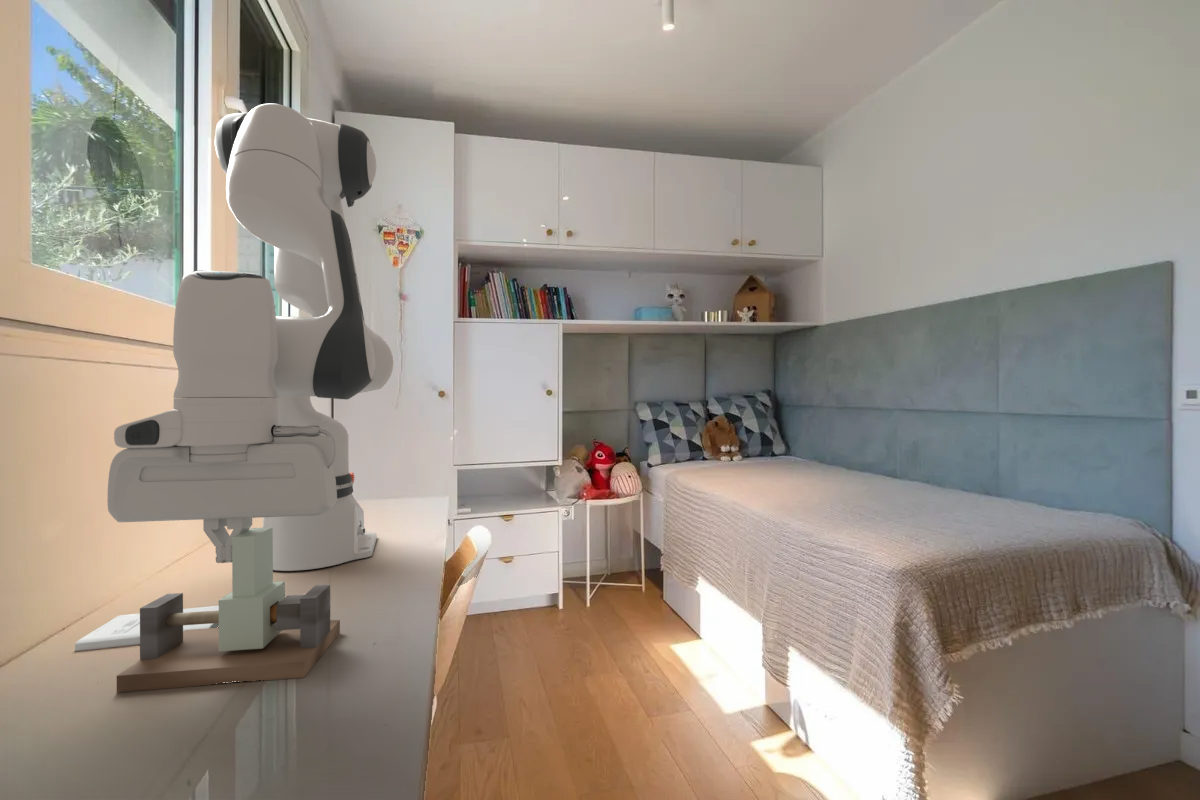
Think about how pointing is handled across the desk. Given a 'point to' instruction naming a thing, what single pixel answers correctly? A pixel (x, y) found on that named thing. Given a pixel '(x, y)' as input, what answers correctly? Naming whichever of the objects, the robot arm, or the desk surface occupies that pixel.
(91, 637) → the external hard drive
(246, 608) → the mint green stepped block
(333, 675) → the desk surface
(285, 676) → the rod rail stand
